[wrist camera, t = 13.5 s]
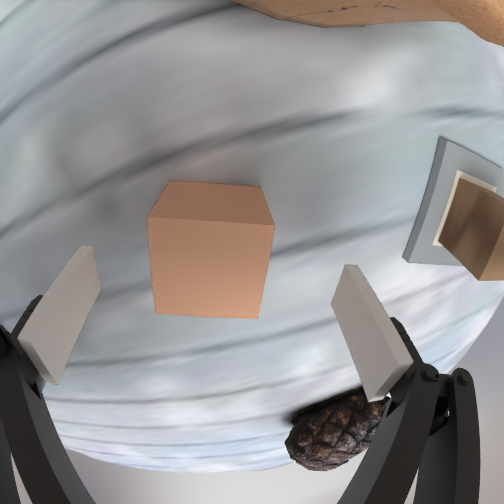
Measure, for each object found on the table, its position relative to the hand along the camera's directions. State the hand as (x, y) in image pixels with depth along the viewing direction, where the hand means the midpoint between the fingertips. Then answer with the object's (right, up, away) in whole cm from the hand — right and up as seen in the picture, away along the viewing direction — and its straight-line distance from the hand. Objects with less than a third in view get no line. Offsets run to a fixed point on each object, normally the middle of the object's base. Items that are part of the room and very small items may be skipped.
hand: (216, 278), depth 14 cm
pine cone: (+14, -21, +22) cm, 34 cm away
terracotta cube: (-1, +3, +5) cm, 6 cm away
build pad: (+21, +5, +6) cm, 23 cm away
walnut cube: (+21, +5, +5) cm, 22 cm away
